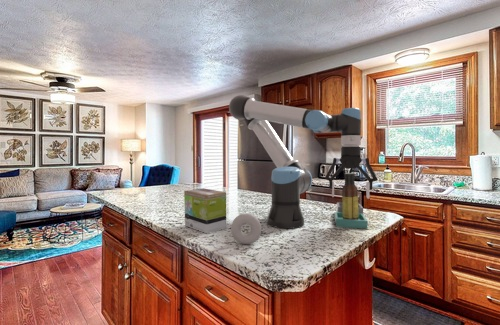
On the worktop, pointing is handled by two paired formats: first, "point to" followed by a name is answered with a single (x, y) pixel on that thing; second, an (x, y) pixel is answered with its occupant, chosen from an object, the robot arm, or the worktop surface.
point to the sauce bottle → (350, 198)
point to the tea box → (205, 209)
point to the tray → (350, 221)
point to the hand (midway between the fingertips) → (350, 197)
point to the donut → (242, 236)
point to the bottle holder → (339, 209)
